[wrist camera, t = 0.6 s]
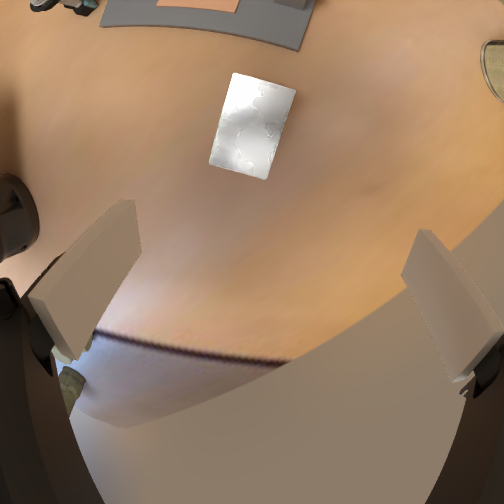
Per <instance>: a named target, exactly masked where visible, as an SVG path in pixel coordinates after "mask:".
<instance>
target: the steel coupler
mask: <svg viewBox="0 0 504 504" xmlns="http://www.w3.org/2000/svg"><path fill="white" fill-rule="evenodd" d="M295 93H296V90H294V89H290V88H287V87H284V86H281V85H278V84H274V83H271V82H267V81H264V80H260V79H256V78H253V77H249V76H245V75H240V74H236V73H233V77H232V80H231V83H230V86H229V90H228V93H227V96H226V100H225V103H224V107H223V110H222V114H221V118H220V121H219V125H218V129H217V132H216V136H215V140H214V144H213V148H212V152H211V156H210V160H209V165H213V166H217V167H221V168H225V169H228V170H232V171H236V172H239V173H243V174H247V175H250V176H254V177H257V178H260V179H264V180H266V179H267V176H268V173H269V170H270V167H271V164H272V161H273V158H274V155H275V152H276V149H277V146H278V143H279V140H280V137H281V134H282V131H283V128H284V125H285V122H286V119H287V117H288V114H289V111H290V108H291V105H292V102H293V99H294V96H295Z"/></svg>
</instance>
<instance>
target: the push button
mask: <svg viewBox="0 0 504 504" xmlns="http://www.w3.org/2000/svg"><path fill="white" fill-rule="evenodd" d="M57 3H60V4H63V5H64V7H65V8H69V9H73V10H74V12H75V13H76V14H78V15H82V16H88V15H89V14H90V13H91V12H92V11H93V10H94V9H95V8H96V7H97V6H98V5H97V4H96V2H95V1H94V0H30V8H31V10H32V11H33V12H41V11H47V10H49V9H51V8H53V7H54V6H55V5H56V4H57Z"/></svg>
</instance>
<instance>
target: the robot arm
mask: <svg viewBox="0 0 504 504" xmlns="http://www.w3.org/2000/svg"><path fill="white" fill-rule="evenodd" d="M38 233H39V221H38V215H37V211H36V207H35V204H34V202H33V199H32V197H31V195H30V193H29V191H28V190H27V188H26V187H25V185H24V184H23V183H22V182H21V181H20V180H19V179H18V178H17V177H15V176H14V175H11V174H4V175H2V176H0V263H1V262H2V261H3V260H5V259H7V258H9V257H11V256H14V255H16V254H19V253H21V252H23V251H26V250H27V249H28V248H29V247H30V246H31V245H32V244H34V243H35V241H36V239H37V237H38ZM141 253H142V249H141V243H140V237H139V231H138V224H137V217H136V209H135V201H134V200H119V201H118V202H117V203H116V204H115V205H114V206H113V207H111V208H110V209H109V210H108V211H107V212H106V213H105V214H104V215H103V216H102V217H100V218H99V219H98V220H97V221H96V222H95V223H94V224H93V225H92V226H91V227H90V228H89V229H88V230H87V231H86V232H85V233H84V234H83V235H82V236H81V237H80V238H79V239H78V240H77V241H76V242H75V243H74V244H73V245H72V246H71V247H70V248H69V249H68V250H67V251H66V252H64V253H63V254H61V255H60V256H58V257H57V258H55V259H54V260H53V261H52V262H51V263H50V265H49V266H48V267H47V269H45V270H44V271H43V272H42V273H41V276H39V277H38V278H37V279H36V280H35V282H34V283H33V284H32V285H31V286H30V288H29V289H28V290H27V291H26V292H25V294H24V295H23V296H22V297H21V299H20V297H19V295H18V293H17V291H16V289H15V287H14V285H13V283H12V281H11V280H10V279H9V278H5V277H4V278H0V504H105V503H104V501H103V499H102V497H101V495H100V494H99V492H98V490H97V488H96V486H95V484H94V482H93V479H92V477H91V475H90V473H89V471H88V468H87V466H86V464H85V461H84V459H83V456H82V454H81V452H80V449H79V446H78V444H77V441H76V438H75V435H74V432H73V429H72V426H71V423H70V420H69V417H68V413H67V410H66V406H65V403H64V399H63V395H62V391H61V387H60V382H59V378H58V373H57V368H56V363H55V357H54V355H53V353H52V351H51V350H52V348H53V347H54V345H56V347H57V348H58V350H59V351H60V353H61V354H62V355H63V356H66V357H69V358H71V359H74V360H77V361H78V359H79V357H80V355H81V354H82V352H83V350H84V348H85V346H86V344H87V342H88V340H89V338H90V337H91V335H92V333H93V331H94V329H95V327H96V326H97V324H98V322H99V320H100V319H101V317H102V315H103V313H104V312H105V310H106V308H107V307H108V305H109V303H110V302H111V300H112V298H113V297H114V295H115V293H116V292H117V290H118V288H119V287H120V285H121V284H122V282H123V280H124V279H125V277H126V276H127V274H128V273H129V271H130V270H131V268H132V266H133V265H134V263H135V262H136V260H137V259H138V257H139V256H140V254H141ZM401 276H402V278H403V280H404V282H405V284H406V285H407V287H408V289H409V291H410V293H411V295H412V297H413V298H414V300H415V302H416V304H417V306H418V308H419V310H420V312H421V314H422V316H423V318H424V320H425V322H426V325H427V327H428V329H429V331H430V333H431V335H432V337H433V339H434V342H435V344H436V346H437V349H438V351H439V353H440V356H441V358H442V361H443V363H444V366H445V368H446V371H447V373H448V376H449V378H450V381H451V383H453V382H458V381H461V380H464V379H465V378H466V377H467V376H468V375H469V374H470V373H471V372H472V371H474V373H475V376H474V377H473V378H472V380H471V381H469V383H468V384H467V385H465V386H464V387H463V388H462V389H461V391H460V393H459V394H462V393H463V392H464V391H465V390H468V392H467V393H466V394H465V395H464V397H466V402H465V406H464V410H463V413H462V417H461V420H460V423H459V426H458V430H457V433H456V436H455V438H454V441H453V444H452V446H451V449H450V452H449V454H448V457H447V459H446V462H445V464H444V466H443V469H442V471H441V473H440V476H439V477H438V480H437V482H436V484H435V486H434V488H433V490H432V492H431V493H430V495H429V497H428V499H427V501H426V503H425V504H504V327H503V326H502V324H501V323H500V321H499V319H498V317H497V316H496V314H495V313H494V312H493V310H492V308H491V307H490V305H489V304H488V302H487V301H486V299H485V298H484V296H483V295H482V293H481V292H480V291H479V289H478V288H477V286H476V285H475V284H474V282H473V281H472V280H471V278H470V277H469V275H468V274H467V273H466V272H465V270H464V269H463V268H462V267H461V265H460V264H459V263H458V261H457V260H456V259H455V258H454V256H453V255H452V254H451V253H450V252H449V250H448V249H447V248H446V247H445V246H444V245H443V243H442V242H441V241H440V240H439V239H438V238H437V237H436V235H435V234H434V233H433V232H432V231H431V230H426V229H421V228H419V230H418V233H417V236H416V238H415V241H414V244H413V246H412V249H411V252H410V254H409V257H408V259H407V261H406V264H405V266H404V269H403V271H402V273H401Z"/></svg>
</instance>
